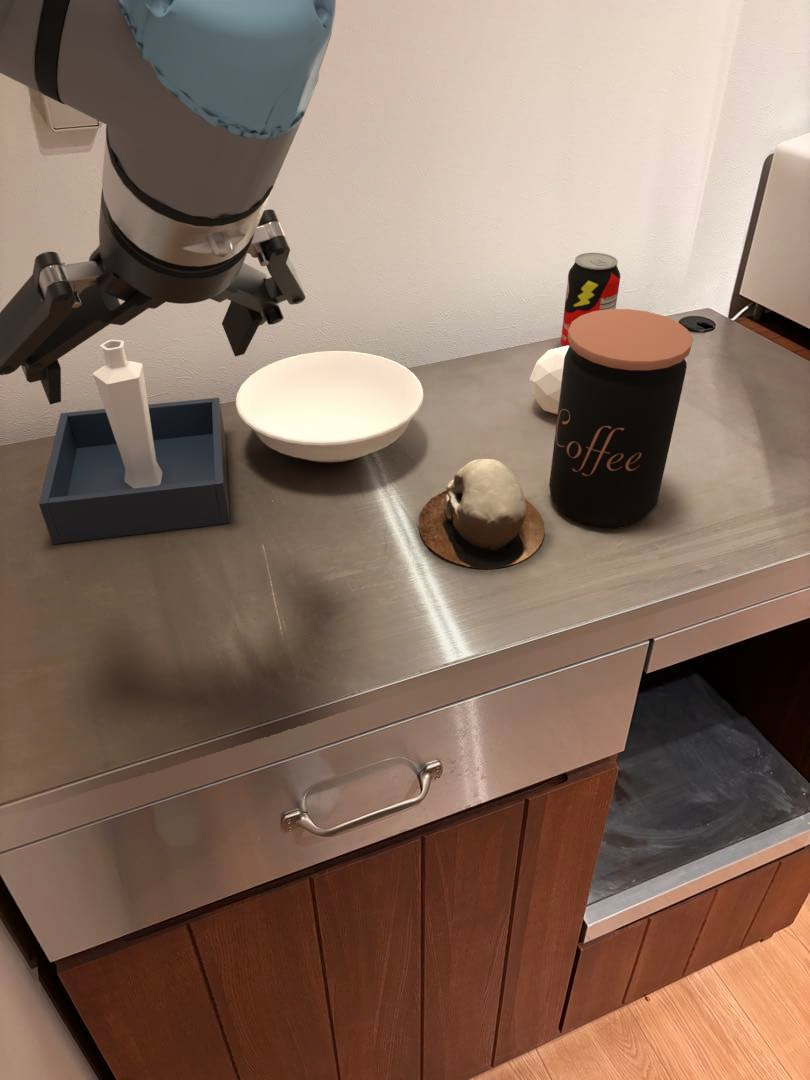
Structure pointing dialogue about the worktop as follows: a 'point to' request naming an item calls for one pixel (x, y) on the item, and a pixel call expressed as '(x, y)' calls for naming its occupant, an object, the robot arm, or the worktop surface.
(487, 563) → the skull
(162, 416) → the bin
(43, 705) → the worktop surface
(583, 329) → the coffee jar
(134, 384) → the perfume bottle
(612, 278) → the beverage can
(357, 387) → the bowl
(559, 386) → the geometric ball
